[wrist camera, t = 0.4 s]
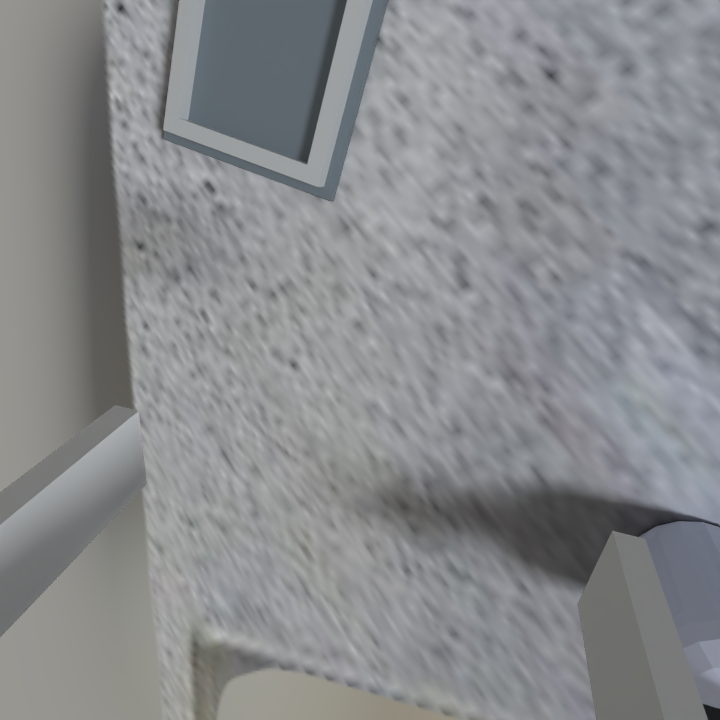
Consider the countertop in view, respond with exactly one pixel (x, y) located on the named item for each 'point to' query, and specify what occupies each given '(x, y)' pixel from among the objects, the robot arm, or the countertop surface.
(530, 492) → the countertop surface
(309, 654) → the countertop surface
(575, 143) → the countertop surface
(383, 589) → the countertop surface
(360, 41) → the slate base tray
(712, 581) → the soap bottle
